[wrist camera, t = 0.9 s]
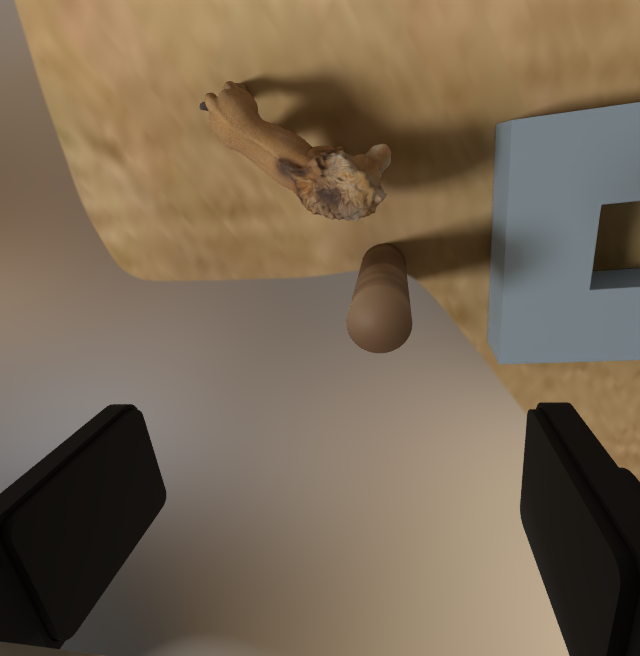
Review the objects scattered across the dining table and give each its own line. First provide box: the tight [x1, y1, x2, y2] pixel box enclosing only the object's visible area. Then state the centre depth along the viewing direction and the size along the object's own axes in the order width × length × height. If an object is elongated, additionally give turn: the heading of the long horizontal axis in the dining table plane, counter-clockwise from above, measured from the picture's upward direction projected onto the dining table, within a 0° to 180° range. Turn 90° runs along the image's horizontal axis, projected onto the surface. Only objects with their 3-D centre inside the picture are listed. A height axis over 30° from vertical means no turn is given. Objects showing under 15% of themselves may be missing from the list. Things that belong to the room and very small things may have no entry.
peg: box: [347, 244, 412, 353], centre depth 27 cm, size 3×3×12 cm
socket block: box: [488, 102, 640, 364], centre depth 27 cm, size 16×16×4 cm
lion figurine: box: [199, 81, 391, 221], centre depth 26 cm, size 15×5×9 cm, turn 68°
